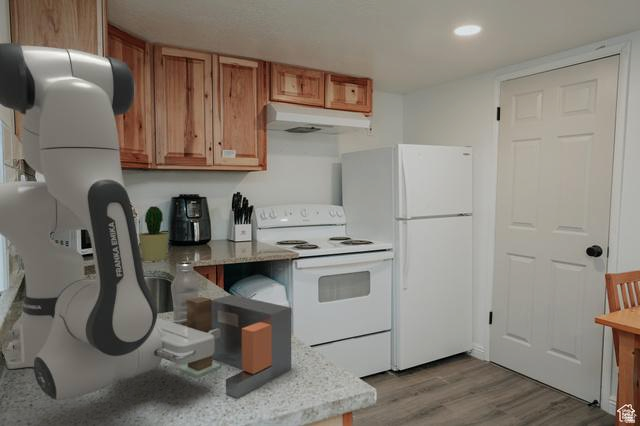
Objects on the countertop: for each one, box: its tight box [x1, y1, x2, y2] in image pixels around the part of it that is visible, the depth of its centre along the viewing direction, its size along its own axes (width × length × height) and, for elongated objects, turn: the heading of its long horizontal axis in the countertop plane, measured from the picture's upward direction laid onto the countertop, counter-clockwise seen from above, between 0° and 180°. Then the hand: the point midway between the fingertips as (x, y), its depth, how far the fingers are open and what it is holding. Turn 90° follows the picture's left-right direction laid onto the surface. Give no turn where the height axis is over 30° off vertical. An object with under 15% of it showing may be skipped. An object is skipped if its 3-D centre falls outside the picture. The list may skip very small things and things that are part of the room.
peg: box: [187, 296, 213, 371], centre depth 85 cm, size 4×4×14 cm
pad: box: [178, 361, 222, 379], centre depth 85 cm, size 6×6×1 cm
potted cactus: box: [138, 206, 170, 261], centre depth 221 cm, size 15×15×30 cm
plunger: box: [241, 322, 272, 374], centre depth 79 cm, size 3×5×8 cm, turn 144°
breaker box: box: [211, 294, 292, 399], centre depth 84 cm, size 18×15×13 cm
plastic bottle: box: [170, 261, 200, 321], centre depth 97 cm, size 6×7×20 cm
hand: (203, 327), depth 86 cm, fingers open, 8 cm apart
